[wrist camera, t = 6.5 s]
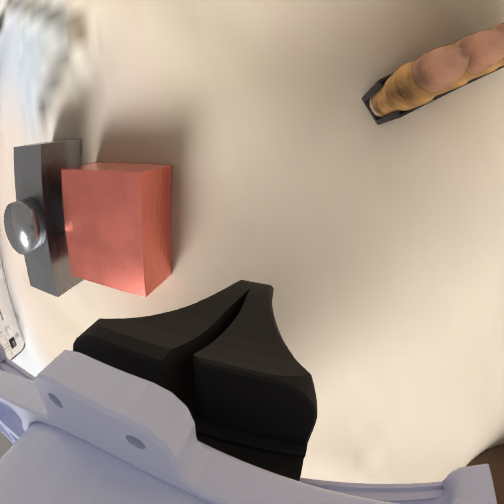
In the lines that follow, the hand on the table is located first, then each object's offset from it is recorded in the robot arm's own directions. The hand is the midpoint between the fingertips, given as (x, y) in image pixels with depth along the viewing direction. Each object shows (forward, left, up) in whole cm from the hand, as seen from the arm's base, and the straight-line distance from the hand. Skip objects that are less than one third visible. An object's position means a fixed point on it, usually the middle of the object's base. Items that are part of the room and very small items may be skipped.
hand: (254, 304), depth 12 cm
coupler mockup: (0, +15, -8) cm, 17 cm away
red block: (0, +11, -8) cm, 14 cm away
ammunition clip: (+12, -8, -8) cm, 17 cm away
